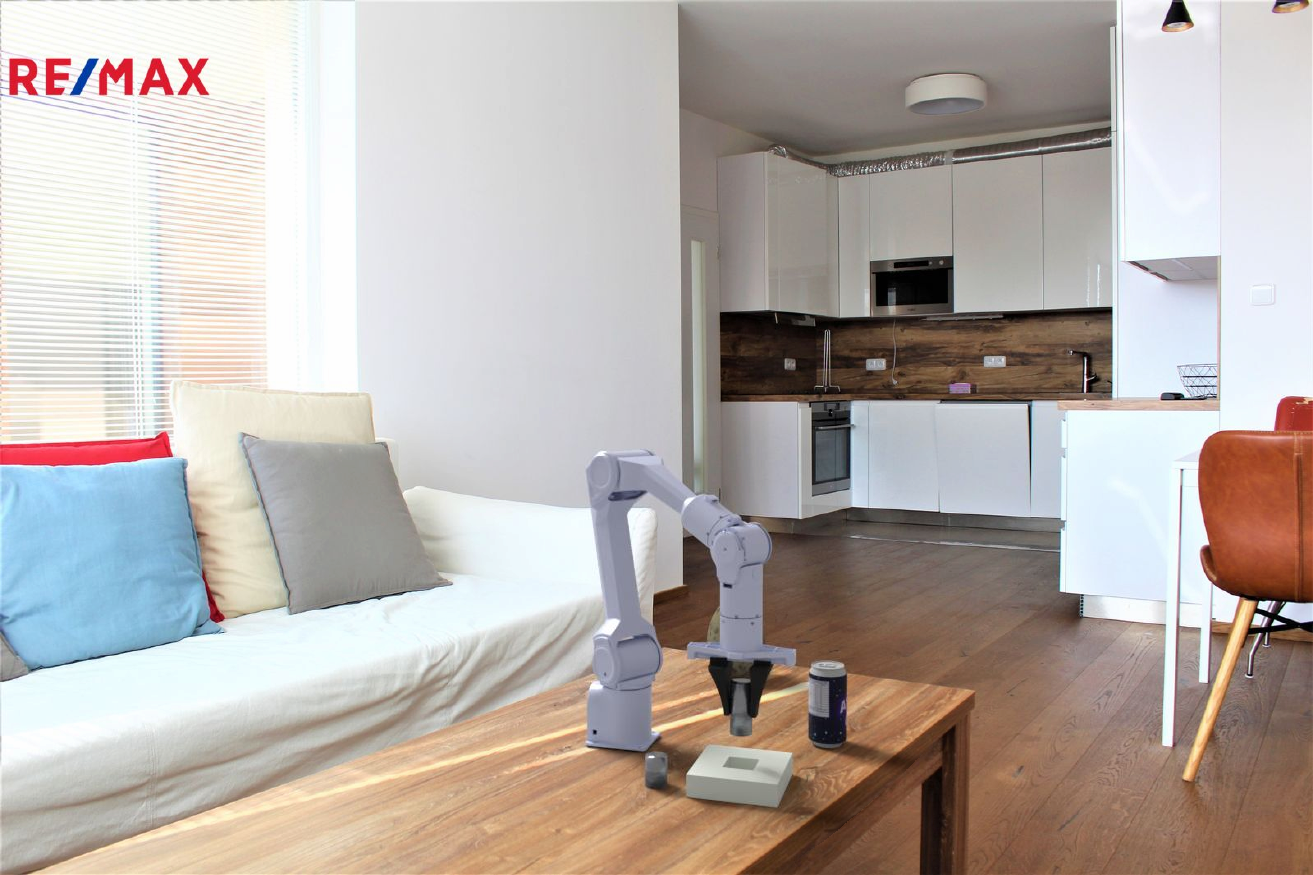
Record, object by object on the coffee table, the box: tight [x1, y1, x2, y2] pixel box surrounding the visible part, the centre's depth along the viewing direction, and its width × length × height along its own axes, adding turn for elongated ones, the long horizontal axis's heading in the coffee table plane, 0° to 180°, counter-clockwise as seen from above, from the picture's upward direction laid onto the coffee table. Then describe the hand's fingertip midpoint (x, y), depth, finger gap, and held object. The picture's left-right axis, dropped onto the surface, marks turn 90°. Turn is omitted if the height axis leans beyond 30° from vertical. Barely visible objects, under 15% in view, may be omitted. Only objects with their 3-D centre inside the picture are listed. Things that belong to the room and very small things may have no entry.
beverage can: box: [807, 660, 848, 749], centre depth 155 cm, size 6×6×12 cm
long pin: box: [729, 677, 753, 738], centre depth 139 cm, size 3×3×7 cm
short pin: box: [644, 751, 668, 790], centre depth 139 cm, size 3×3×4 cm
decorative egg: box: [706, 605, 766, 678], centre depth 192 cm, size 11×11×15 cm
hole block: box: [685, 744, 794, 808], centre depth 139 cm, size 12×12×3 cm
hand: (741, 714), depth 139 cm, fingers closed on long pin, 3 cm apart
